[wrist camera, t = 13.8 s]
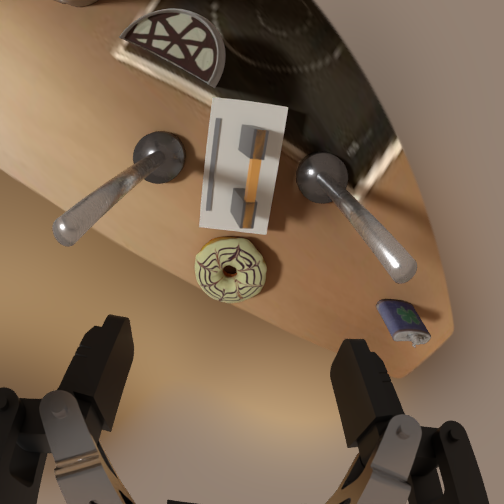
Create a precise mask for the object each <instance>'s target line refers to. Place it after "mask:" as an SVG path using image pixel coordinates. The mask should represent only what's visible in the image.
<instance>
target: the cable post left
mask: <svg viewBox="0 0 504 504" xmlns="http://www.w3.org/2000/svg"><path fill="white" fill-rule="evenodd" d="M185 158H186V154H185V148H184V146H183V144H182V142H181V141H180V139H179V138H178V137H176V136H175V135H174V134H172V133H169V132H166V131H157V132H153V133H150V134H148V135H146V136H144V137H143V138H142V139H141V140H140V141H139V142H138V143H137V145H136V147H135V150H134V153H133V162H134V164H133V165H132V166H130V167H129V168H127V169H126V170H124V171H123V172H121V173H120V174H118V175H117V176H115V177H114V178H112V179H111V180H109V181H108V182H106V183H105V184H103V185H102V186H100V187H99V188H98V189H96V190H95V191H93V192H92V193H90V194H89V195H88V196H86V197H85V198H84V199H82V200H81V201H80V202H78V203H77V204H76V205H74V206H73V207H72V208H70V209H69V210H68V211H66V212H65V213H64V214H63V215H62V216H60V217H59V218H57V219H56V220H55V222H54V223H53V234H54V236H55V238H56V240H57V241H58V242H59V243H60V244H62V245H64V246H72V245H74V244H75V243H76V242H77V241H78V240H79V239H80V238H81V237H82V236H83V235H84V234H85V233H86V232H87V230H89V229H90V228H91V227H92V226H93V225H94V224H95V223H96V222H97V221H98V220H99V219H100V218H101V217H102V216H103V215H104V214H105V213H106V212H107V211H108V210H109V209H111V208H112V207H113V206H114V205H115V204H116V203H117V202H118V201H119V200H120V199H122V198H123V197H124V196H125V195H126V194H127V193H128V192H129V191H131V190H132V189H133V188H134V187H135V186H136V185H137V184H139V183H140V182H141V181H142V180H143V179H145V180H146V181H148V182H151V183H156V184H161V183H166V182H168V181H170V180H172V179H173V178H175V177H176V176H177V175H178V173H179V172H180V171H181V170H182V168H183V166H184V163H185Z"/></svg>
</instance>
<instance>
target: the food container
mask: <svg viewBox="0 0 504 504" xmlns="http://www.w3.org/2000/svg"><path fill="white" fill-rule="evenodd" d="M119 38H121V39H124V40H126V41H128V42H130V43H132V44H135V45H137V46H139V47H141V48H143V49H145V50H147V51H149V52H151V53H153V54H155V55H157V56H159V57H161V58H163V59H165V60H167V61H169V62H171V63H173V64H174V65H176V66H178V67H180V68H182V69H184V70H185V71H187V72H189V73H191V74H192V75H194V76H196V77H198V78H199V79H201V80H203V81H204V82H206V83H208V84H209V85H210V86H212V87H214V88H215V87H216V85H217V83H218V82H219V80H220V78H221V75H222V73H223V69H224V65H225V56H226V54H225V46H224V42H223V39H222V37H221V35H220V33H219V31H218V30H217V29H216V27H215V26H214V25H213V24H212V23H211V22H210V21H209V20H207V19H206V18H204V17H202V16H201V15H199V14H196V13H193V12H191V11H188V10H183V9H163V10H159V11H155V12H152V13H149V14H147V15H144V16H143V17H141V18H139V19H137V20H136V21H134V22H133V23H132V24H131V25H129V26H128V27H127V28H126V29H125V30H124V31H123V33H122V34H121V35H120V37H119Z"/></svg>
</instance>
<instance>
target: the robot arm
mask: <svg viewBox="0 0 504 504" xmlns="http://www.w3.org/2000/svg"><path fill="white" fill-rule="evenodd" d="M54 1H57V2H60V3H62V4H64V3H67V4H69V5H72V6H75V7H83V6H87V5H90V4H92V3H94V2H96V1H98V0H54ZM133 356H134V344H133V338H132V332H131V326H130V320H129V318H126V317H121V316H115V315H108V316H107V318H106V320H105V322H104V324H103V326H102V327H99V326H94V327H93V328H92V329H90V330H89V331H88V332H87V333H86V334H85V335H84V337H83V339H82V341H81V343H80V346H79V347H78V349H77V351H76V353H75V356H74V357H73V359H72V361H71V363H70V365H69V367H68V369H67V371H66V373H65V375H64V377H63V380H62V382H61V384H60V386H59V388H58V389H57V390H55V391H52V392H49V393H48V394H46V395H45V396H44V397H43V398H42V399H26V398H18V396H17V395H16V393H15V392H14V391H13V390H11V389H9V388H0V504H36V503H37V498H38V492H39V488H40V483H41V478H42V474H43V469H44V465H45V461H46V457H47V453H52V454H53V457H54V460H55V463H56V468H55V469H54V470H55V471H54V472H55V476H56V480H57V482H58V485H59V487H60V489H61V492H62V494H63V496H64V498H65V500H66V503H67V504H136V503H135V502H134V500H133V499H132V497H131V496H130V494H129V492H128V491H127V489H126V488H125V487H124V485H123V484H122V482H121V481H120V479H119V477H118V475H117V474H116V471H115V470H114V468H113V466H112V464H111V462H110V460H109V458H108V456H107V454H106V452H105V450H104V448H103V446H102V444H101V442H100V440H99V438H100V434H101V430H106V431H110V432H111V430H112V426H113V423H114V420H115V416H116V413H117V409H118V406H119V402H120V399H121V396H122V392H123V389H124V386H125V383H126V380H127V377H128V373H129V370H130V367H131V364H132V361H133ZM330 377H331V382H332V386H333V390H334V394H335V397H336V402H337V406H338V410H339V414H340V417H341V422H342V426H343V430H344V434H345V439H346V443H347V447H348V448H351V447H358V448H359V453H358V454H357V455H356V457H355V459H354V461H353V463H352V465H351V466H350V468H349V470H348V472H347V474H346V475H345V477H344V479H343V481H342V482H341V484H340V486H339V487H338V489H337V490H336V492H335V493H334V494H333V496H332V497H331V498H330V499H329V500H328V501H327V502H326V503H325V504H406V502H407V499H408V501H409V504H489V501H488V498H487V494H486V490H485V487H484V483H483V480H482V476H481V473H480V470H479V467H478V464H477V461H476V458H475V455H474V452H473V450H472V447H471V445H470V441H469V439H468V436H467V433H466V431H465V429H464V427H463V426H462V425H461V424H459V423H458V422H456V421H447V422H445V423H444V424H443V425H442V426H441V427H439V428H431V427H422V426H420V425H419V423H418V422H417V421H416V420H415V419H414V418H413V417H411V416H409V415H405V413H404V412H403V409H402V406H401V404H400V401H399V399H398V397H397V394H396V391H395V389H394V386H393V384H392V382H391V379H390V377H389V374H387V369H386V367H385V365H384V362H383V361H382V360H381V359H380V357H379V356H378V355H377V354H376V353H375V352H370V350H369V348H368V345H367V343H366V341H365V340H364V339H345V340H344V341H343V342H342V344H341V346H340V349H339V351H338V353H337V355H336V357H335V359H334V361H333V363H332V366H331V371H330ZM437 467H439V469H440V472H441V476H442V480H443V483H444V488H445V491H444V494H443V492H442V488H441V484H440V480H439V476H438V473H437V469H436V468H437ZM167 504H194V503H187V502H179V501H173V500H167ZM195 504H196V503H195Z"/></svg>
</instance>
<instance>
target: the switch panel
mask: <svg viewBox="0 0 504 504" xmlns="http://www.w3.org/2000/svg"><path fill="white" fill-rule="evenodd" d="M287 113H288V107H283V106H277V105H271V104H265V103H258V102H251V101H243V100H235V99H225V98H215V97H213V100H212V107H211V115H210V123H209V131H208V139H207V148H206V157H205V167H204V177H203V188H202V199H201V211H200V223H199V227H204V228H213V229H221V230H230V231H239V232H247V233H256V234H264V235H266V233H267V227H268V222H269V216H270V210H271V205H272V199H273V194H274V188H275V182H276V176H277V171H278V165H279V159H280V154H281V148H282V142H283V136H284V130H285V124H286V118H287ZM242 124H244V125H253V126H257V127H260V128H263V129H266V130H268V131H269V134H268V140H267V147H266V153H265V159H264V160H262V161H261V167H260V173H259V180H258V186H257V193H256V199H255V200H256V201H257V202H258V203H257V209H256V215H255V222H254V228H253V229H244V228H239V226H238V224H237V223H236V221H235V219H234V218H233V216H232V214H231V212H230V209H231V201H232V193H233V188H246V182H247V175H248V169H249V162H250V159H249V158H248V157H247V156H245V155H244V154H243V153H241V152H240V151H239V150H238V148H239V141H240V134H241V127H242Z"/></svg>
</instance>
